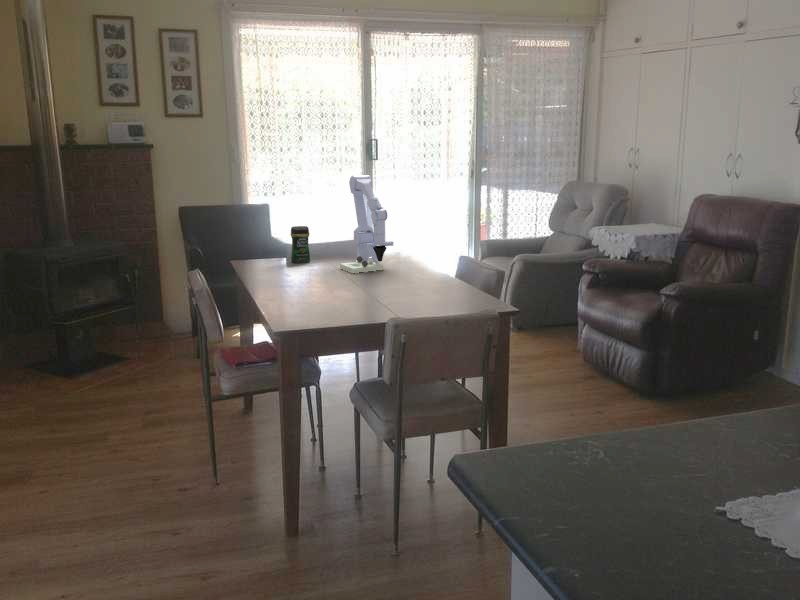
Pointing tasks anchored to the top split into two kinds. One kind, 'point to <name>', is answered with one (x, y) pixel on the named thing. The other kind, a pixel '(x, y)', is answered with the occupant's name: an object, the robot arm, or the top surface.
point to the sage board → (360, 267)
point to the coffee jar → (300, 244)
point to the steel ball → (370, 260)
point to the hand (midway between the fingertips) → (379, 261)
